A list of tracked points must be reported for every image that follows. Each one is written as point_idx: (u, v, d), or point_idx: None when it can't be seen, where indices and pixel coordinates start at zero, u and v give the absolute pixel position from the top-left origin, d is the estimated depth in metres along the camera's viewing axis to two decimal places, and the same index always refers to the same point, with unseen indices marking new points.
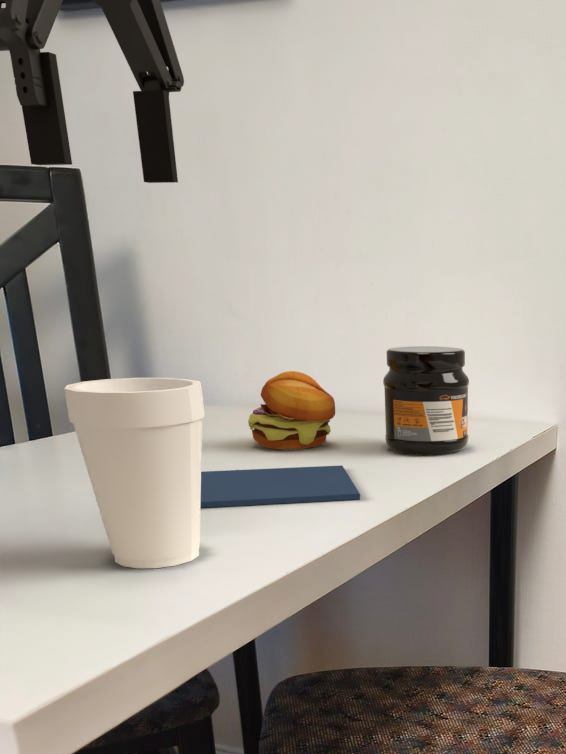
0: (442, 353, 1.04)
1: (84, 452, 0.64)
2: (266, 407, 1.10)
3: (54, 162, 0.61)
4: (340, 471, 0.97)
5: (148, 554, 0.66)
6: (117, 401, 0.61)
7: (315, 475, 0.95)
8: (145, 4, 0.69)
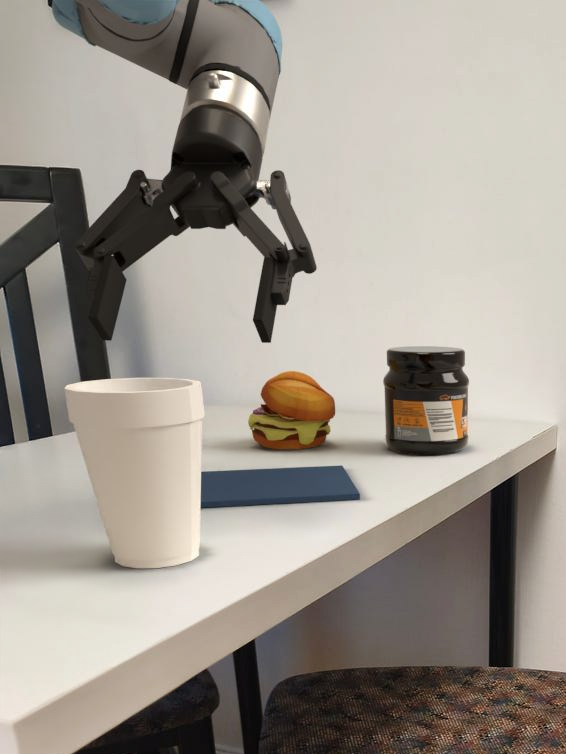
0: (442, 353, 1.04)
1: (84, 452, 0.64)
2: (266, 407, 1.10)
3: (92, 324, 0.73)
4: (340, 471, 0.97)
5: (148, 554, 0.66)
6: (117, 401, 0.61)
7: (315, 475, 0.95)
8: (278, 212, 0.76)
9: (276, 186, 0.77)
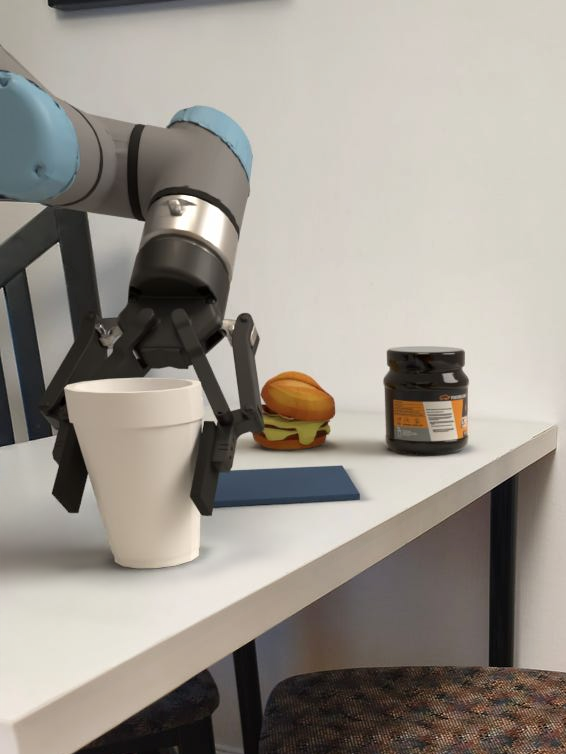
0: (442, 353, 1.04)
1: (84, 452, 0.64)
2: (266, 407, 1.10)
3: (57, 498, 0.65)
4: (340, 471, 0.97)
5: (148, 554, 0.66)
6: (117, 401, 0.61)
7: (315, 475, 0.95)
8: None
9: (240, 331, 0.69)
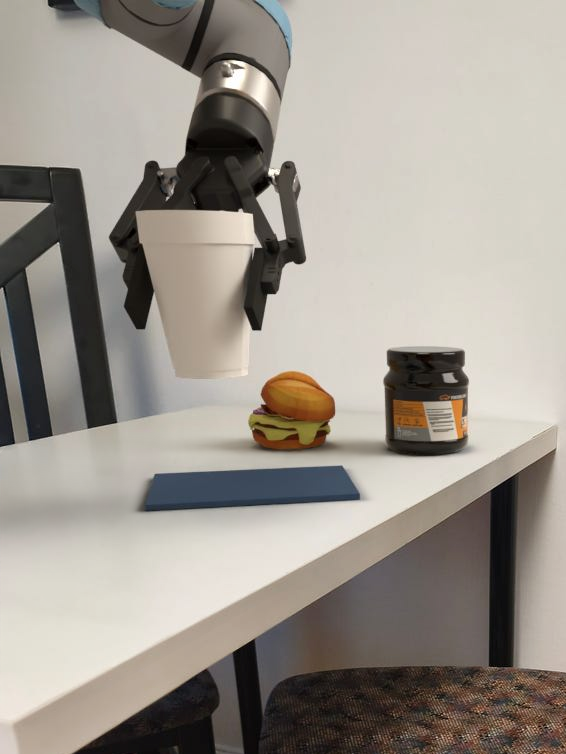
0: (442, 353, 1.04)
1: (151, 270, 0.74)
2: (266, 407, 1.10)
3: None
4: (340, 471, 0.97)
5: (205, 365, 0.76)
6: (183, 217, 0.70)
7: (315, 475, 0.95)
8: None
9: (284, 176, 0.79)
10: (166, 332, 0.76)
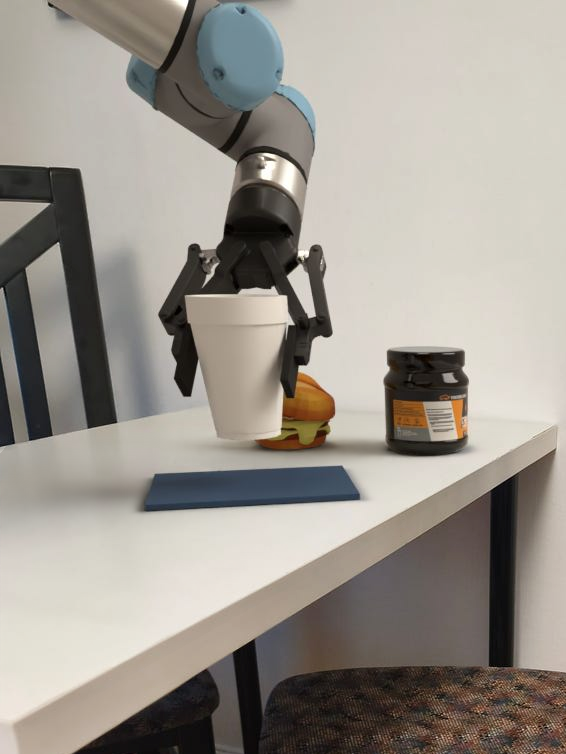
0: (442, 353, 1.04)
1: (198, 347, 0.84)
2: None
3: (176, 383, 0.84)
4: (340, 471, 0.97)
5: (245, 428, 0.86)
6: (228, 303, 0.80)
7: (315, 475, 0.95)
8: None
9: (313, 258, 0.89)
10: (210, 399, 0.86)
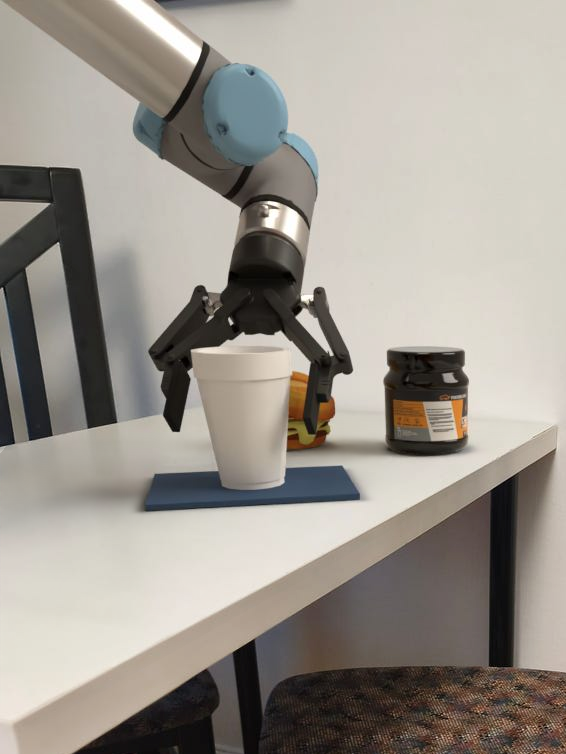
0: (442, 353, 1.04)
1: (204, 400, 0.85)
2: None
3: (165, 419, 0.86)
4: (340, 471, 0.97)
5: (249, 478, 0.88)
6: (233, 360, 0.82)
7: (315, 475, 0.95)
8: (320, 322, 0.90)
9: (319, 300, 0.91)
10: (215, 450, 0.88)
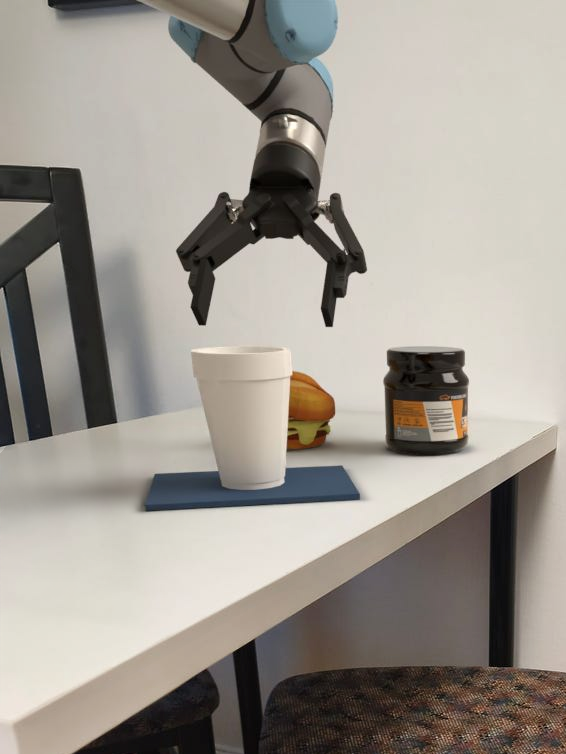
0: (442, 353, 1.04)
1: (204, 400, 0.85)
2: None
3: (193, 312, 0.93)
4: (340, 471, 0.97)
5: (249, 478, 0.88)
6: (233, 360, 0.82)
7: (315, 475, 0.95)
8: (336, 225, 0.97)
9: (335, 205, 0.97)
10: (215, 450, 0.88)
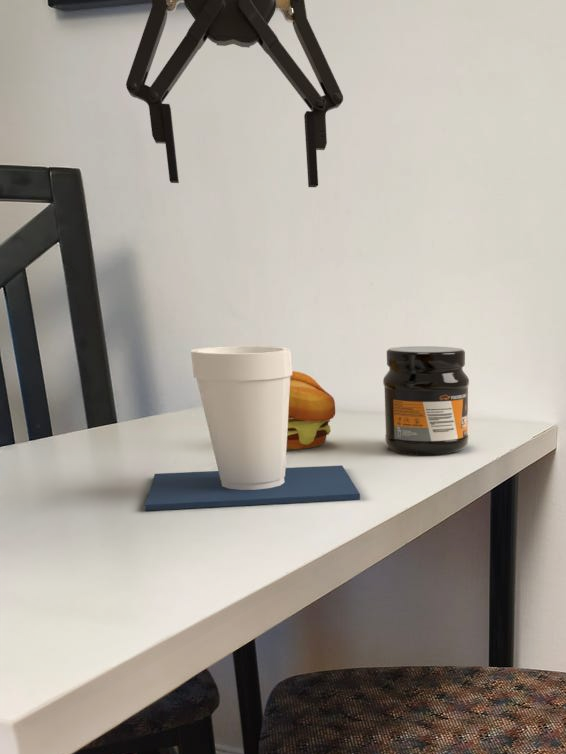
0: (442, 353, 1.04)
1: (204, 400, 0.85)
2: None
3: None
4: (340, 471, 0.97)
5: (249, 478, 0.88)
6: (233, 360, 0.82)
7: (315, 475, 0.95)
8: (304, 43, 0.86)
9: (299, 14, 0.84)
10: (215, 450, 0.88)
